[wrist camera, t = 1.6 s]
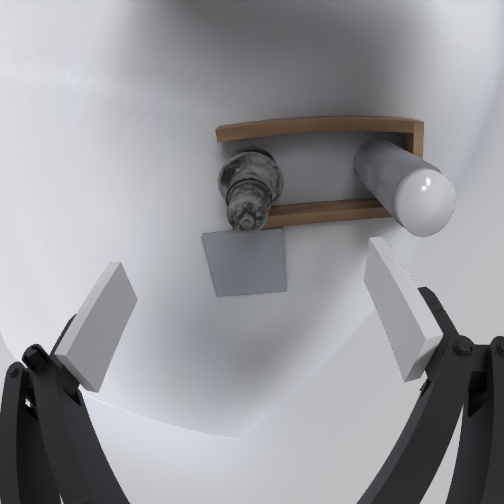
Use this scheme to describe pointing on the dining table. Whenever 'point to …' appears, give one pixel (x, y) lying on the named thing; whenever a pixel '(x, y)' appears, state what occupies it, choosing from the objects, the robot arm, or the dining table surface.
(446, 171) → the dining table surface
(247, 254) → the coaster
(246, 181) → the grey chess piece
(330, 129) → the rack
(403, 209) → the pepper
